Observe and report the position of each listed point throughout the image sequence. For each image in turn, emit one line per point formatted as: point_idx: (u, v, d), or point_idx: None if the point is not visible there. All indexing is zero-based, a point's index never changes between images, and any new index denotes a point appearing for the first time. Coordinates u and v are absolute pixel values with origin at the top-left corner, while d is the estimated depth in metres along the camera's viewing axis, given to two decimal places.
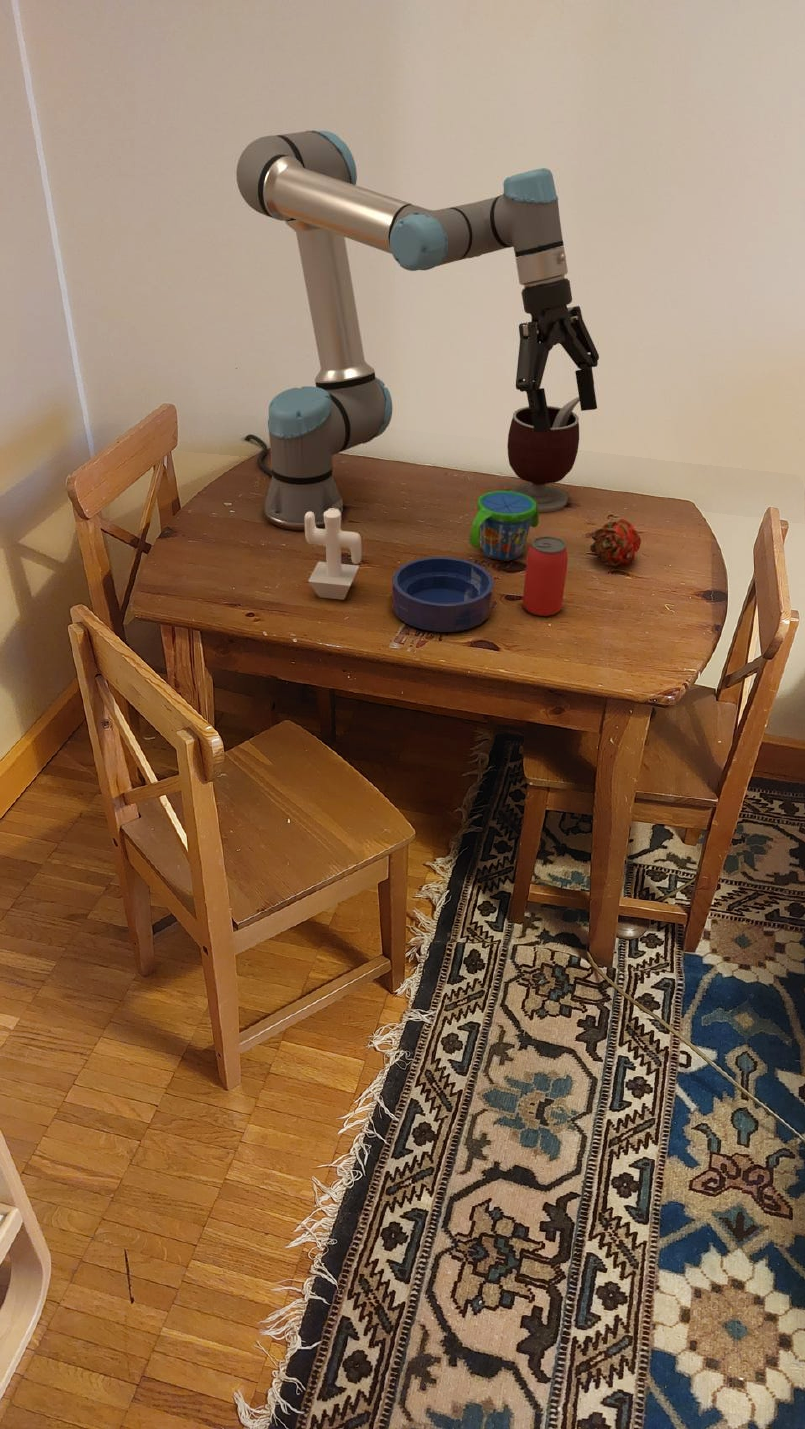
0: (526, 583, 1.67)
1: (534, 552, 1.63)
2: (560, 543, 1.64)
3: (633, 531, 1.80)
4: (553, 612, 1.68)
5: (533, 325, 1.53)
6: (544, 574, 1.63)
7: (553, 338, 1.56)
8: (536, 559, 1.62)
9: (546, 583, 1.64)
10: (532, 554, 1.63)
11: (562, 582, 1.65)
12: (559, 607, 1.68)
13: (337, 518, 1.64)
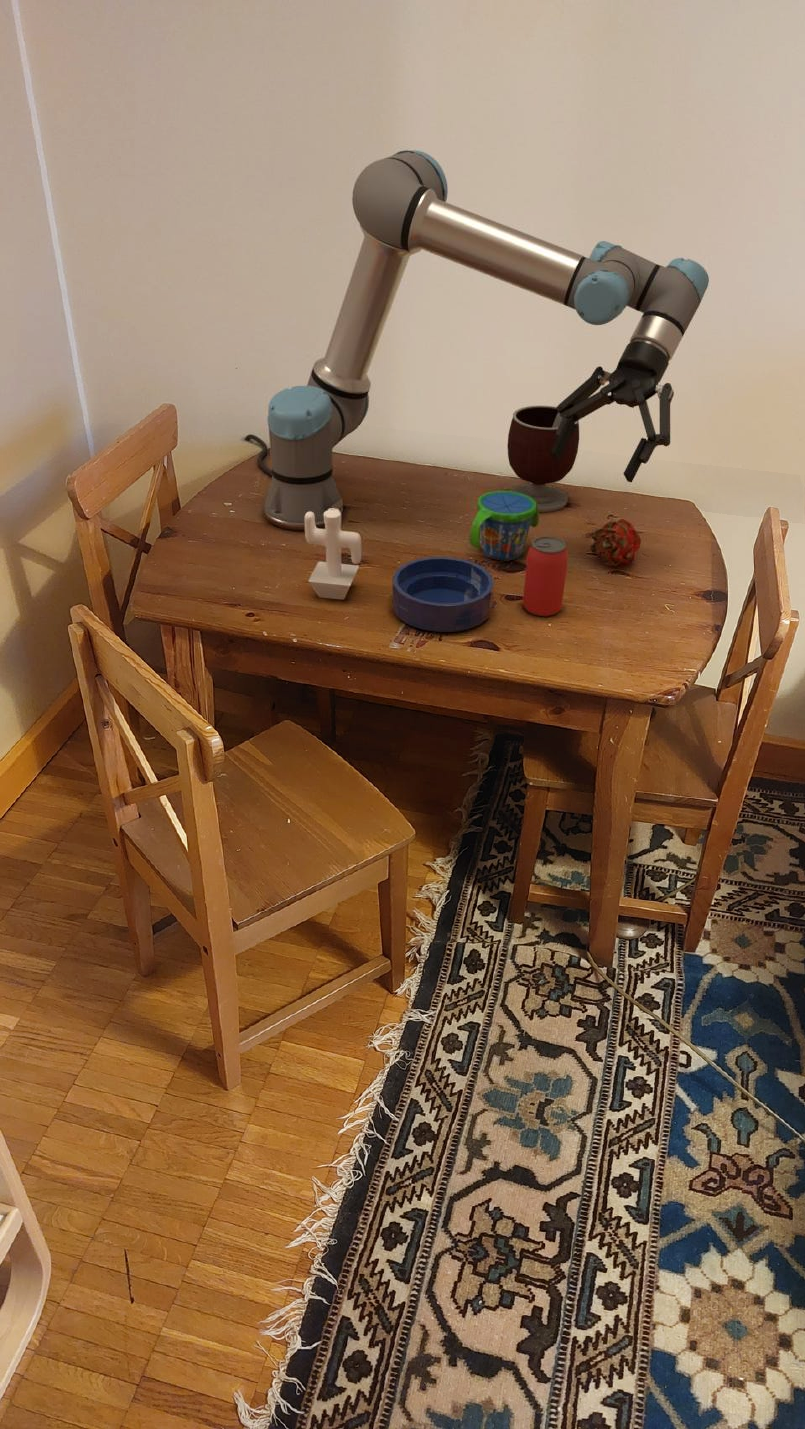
0: (526, 583, 1.67)
1: (534, 552, 1.63)
2: (560, 543, 1.64)
3: (633, 531, 1.80)
4: (553, 612, 1.68)
5: None
6: (544, 574, 1.63)
7: None
8: (536, 559, 1.62)
9: (546, 583, 1.64)
10: (532, 554, 1.63)
11: (562, 582, 1.65)
12: (559, 607, 1.68)
13: (337, 518, 1.64)
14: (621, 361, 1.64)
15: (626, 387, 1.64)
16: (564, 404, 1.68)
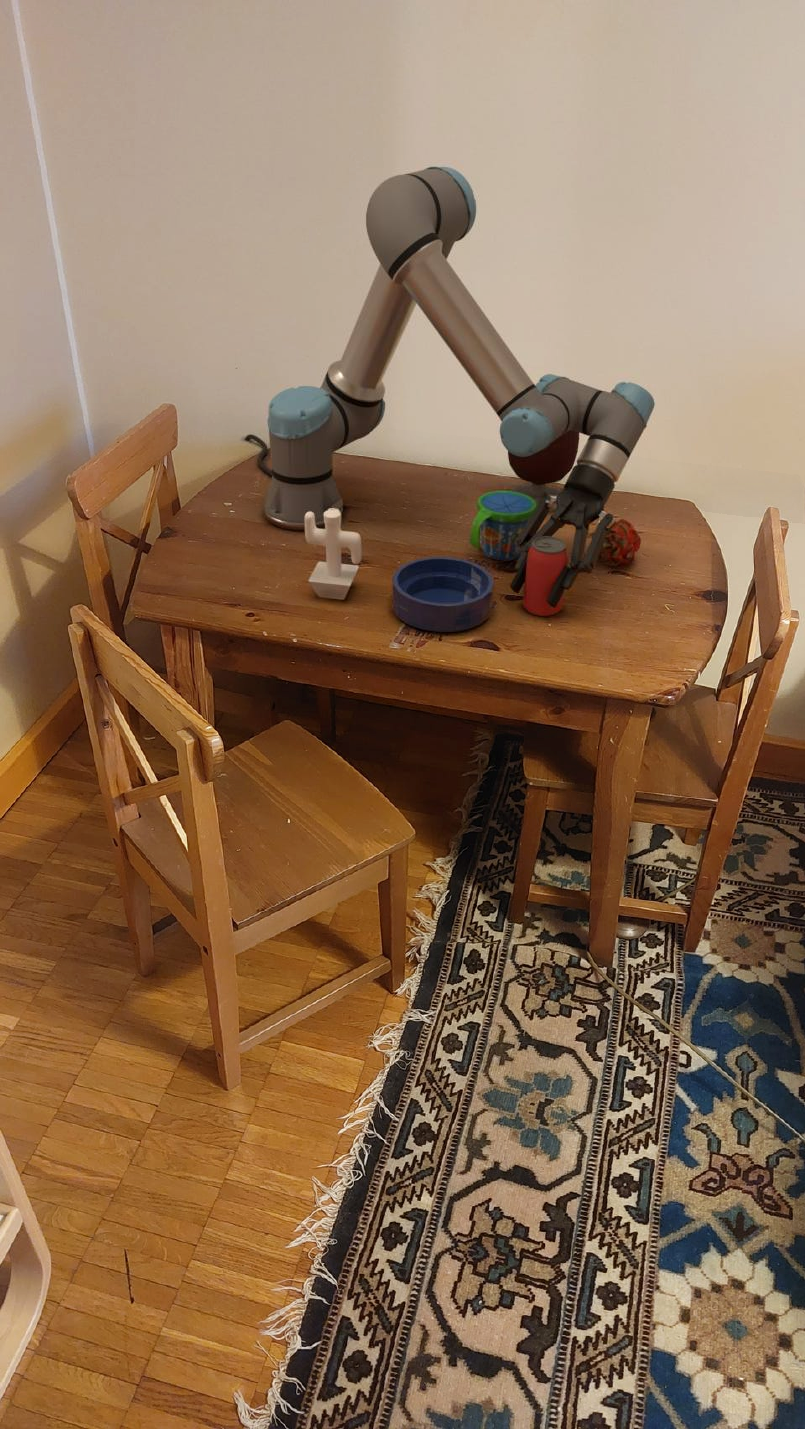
0: (526, 583, 1.67)
1: (534, 552, 1.63)
2: (560, 543, 1.64)
3: (633, 531, 1.80)
4: (553, 612, 1.68)
5: None
6: (544, 574, 1.63)
7: (584, 526, 1.67)
8: (537, 559, 1.62)
9: (546, 583, 1.64)
10: (532, 554, 1.63)
11: None
12: (559, 607, 1.68)
13: (337, 518, 1.64)
14: (568, 483, 1.66)
15: (572, 509, 1.66)
16: (522, 536, 1.68)
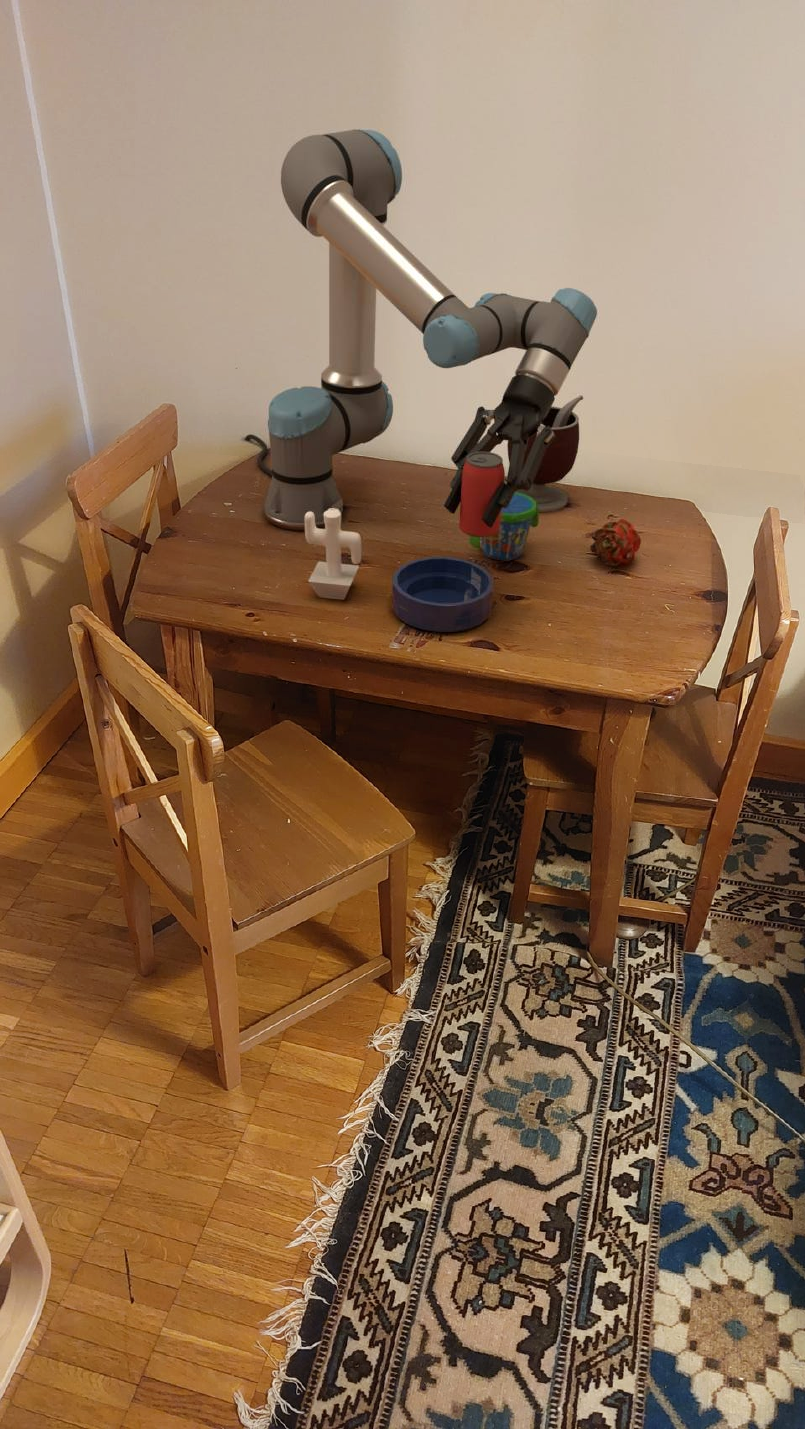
0: (461, 502, 1.58)
1: (468, 466, 1.53)
2: (496, 458, 1.55)
3: (633, 531, 1.80)
4: (490, 533, 1.59)
5: None
6: (479, 491, 1.54)
7: None
8: (471, 474, 1.53)
9: (482, 500, 1.55)
10: (467, 470, 1.54)
11: None
12: (497, 528, 1.59)
13: (337, 518, 1.64)
14: (505, 395, 1.56)
15: (510, 422, 1.56)
16: (458, 453, 1.59)
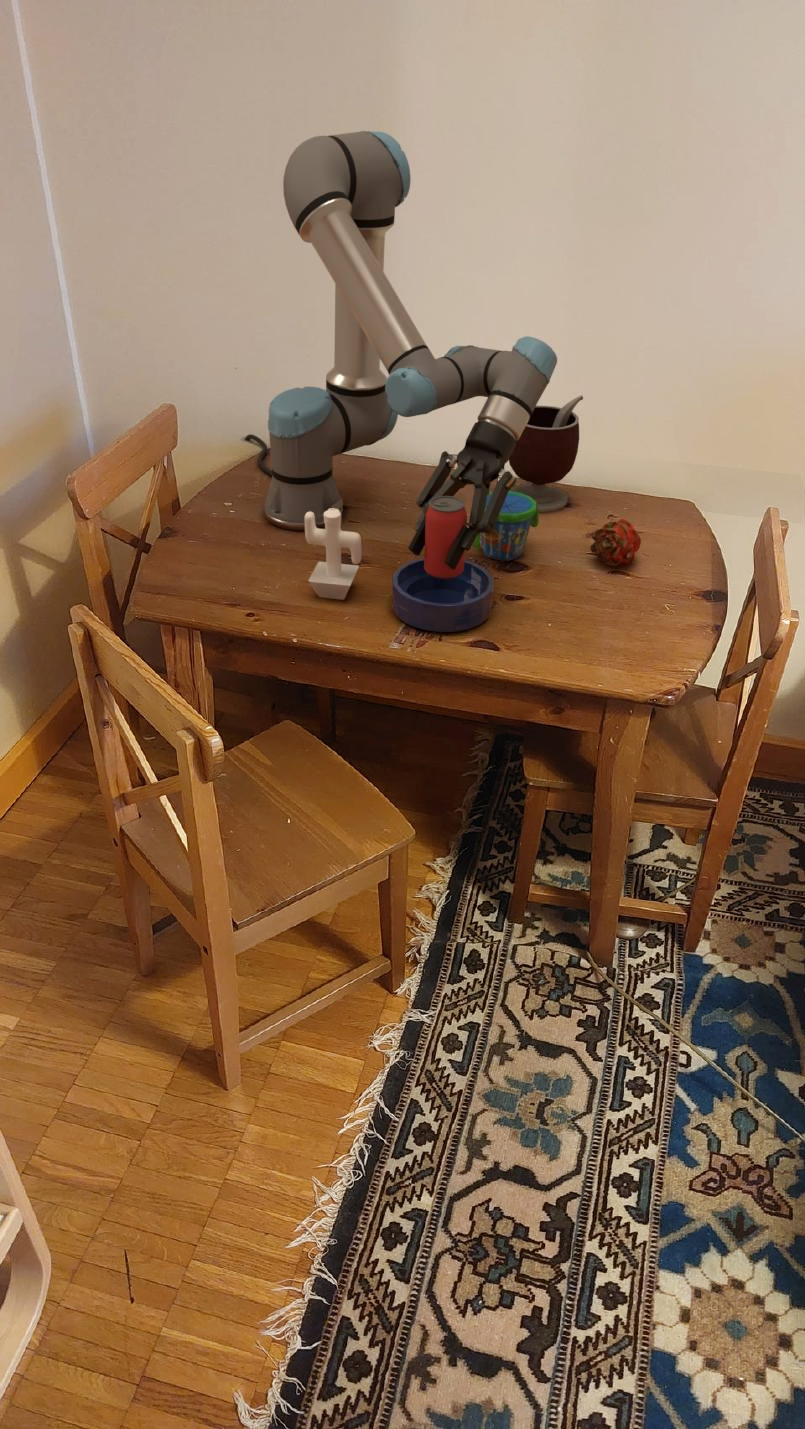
0: (425, 544, 1.62)
1: (431, 511, 1.57)
2: (459, 502, 1.59)
3: (633, 531, 1.80)
4: (454, 575, 1.62)
5: None
6: (442, 534, 1.58)
7: (485, 485, 1.62)
8: (433, 519, 1.57)
9: (444, 543, 1.59)
10: (429, 514, 1.58)
11: None
12: (460, 569, 1.63)
13: (337, 518, 1.64)
14: (467, 441, 1.60)
15: (472, 467, 1.60)
16: (422, 497, 1.63)
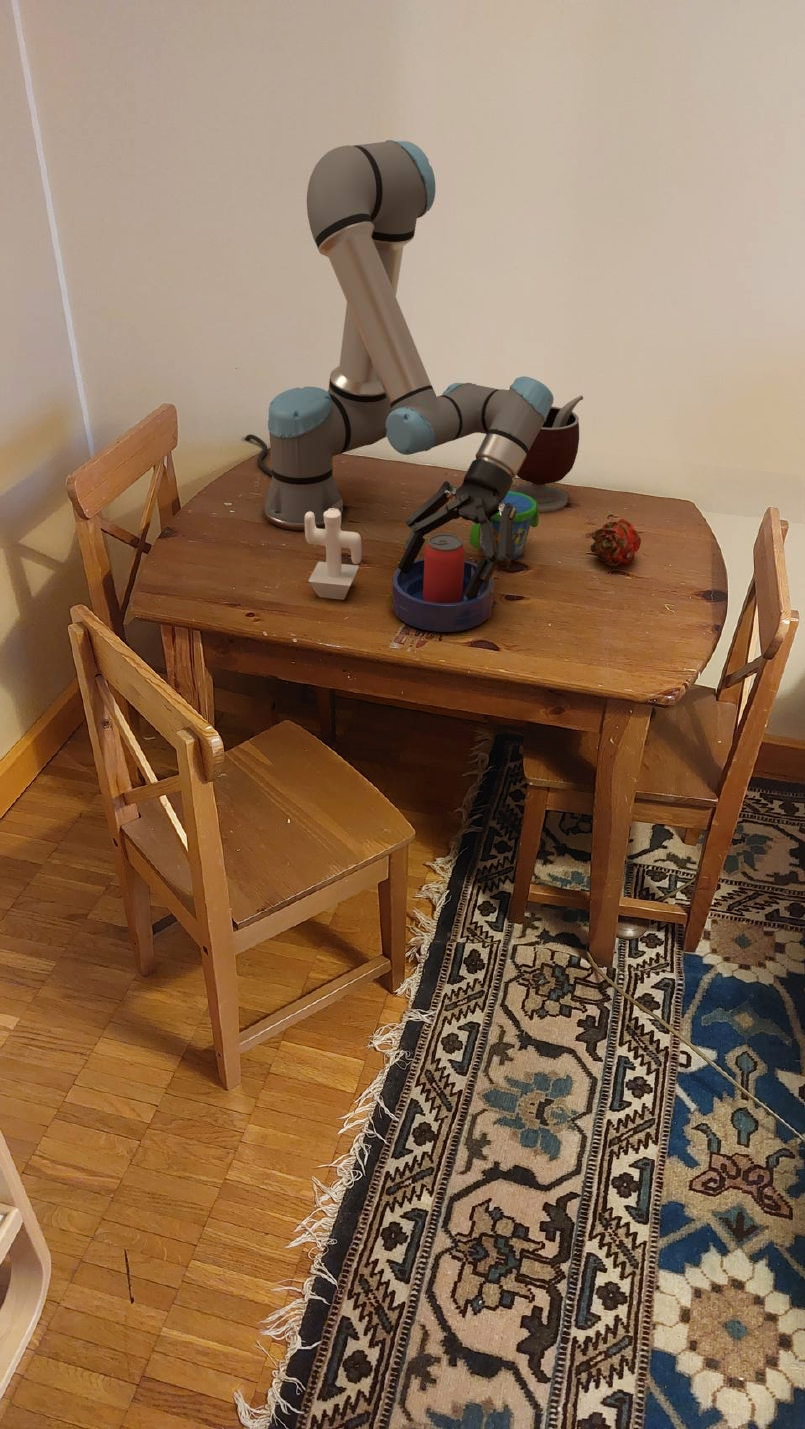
0: (424, 581, 1.66)
1: (430, 549, 1.61)
2: (457, 540, 1.63)
3: (633, 531, 1.80)
4: None
5: None
6: (440, 572, 1.62)
7: None
8: (432, 557, 1.61)
9: (443, 580, 1.63)
10: (428, 552, 1.62)
11: (460, 580, 1.64)
12: None
13: (337, 518, 1.64)
14: (465, 478, 1.64)
15: (470, 504, 1.64)
16: (412, 518, 1.68)
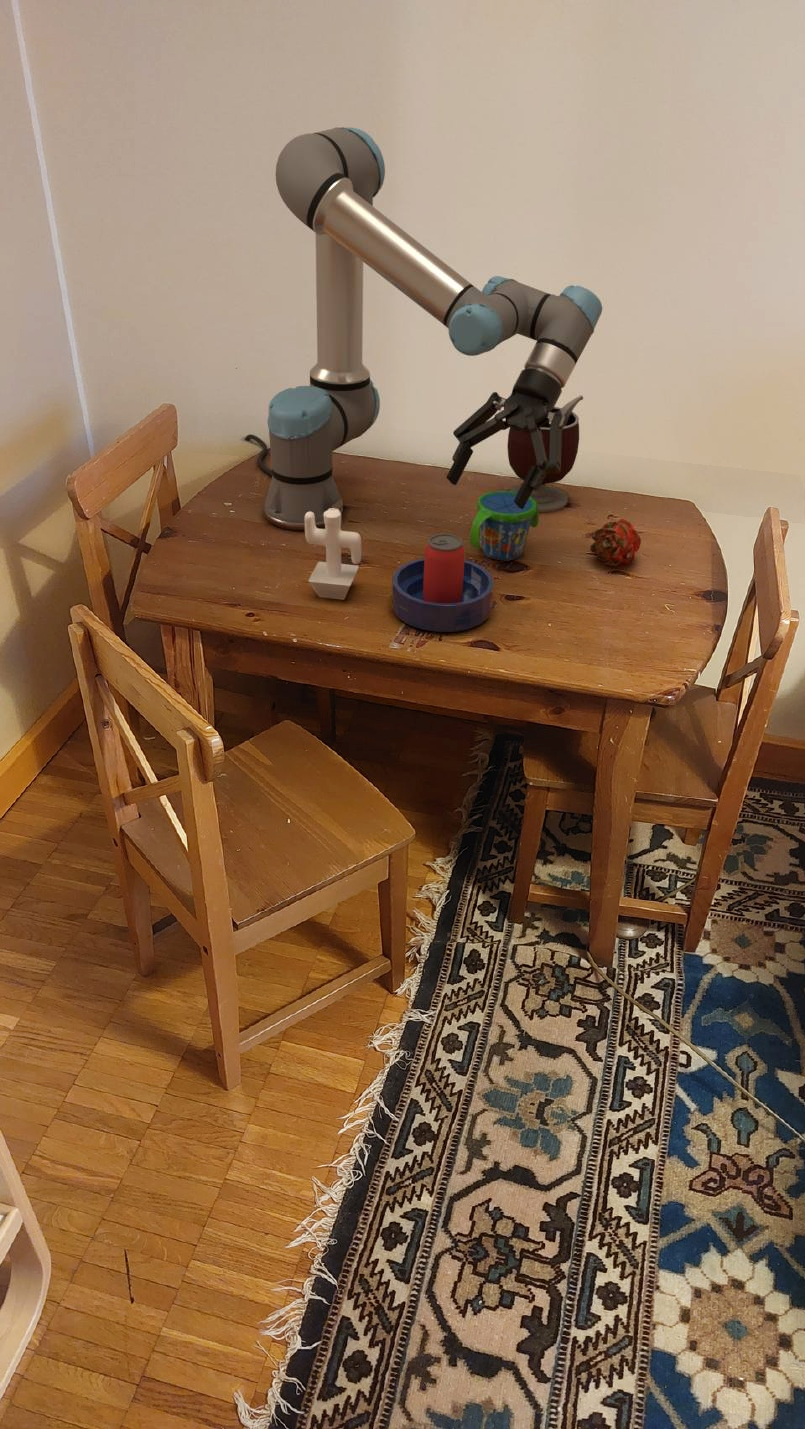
0: (424, 581, 1.66)
1: (430, 549, 1.61)
2: (457, 540, 1.63)
3: (633, 531, 1.80)
4: None
5: None
6: (440, 572, 1.62)
7: None
8: (432, 557, 1.61)
9: (443, 580, 1.63)
10: (428, 552, 1.62)
11: (460, 580, 1.64)
12: None
13: (337, 518, 1.64)
14: (515, 388, 1.65)
15: (519, 414, 1.65)
16: (460, 429, 1.70)
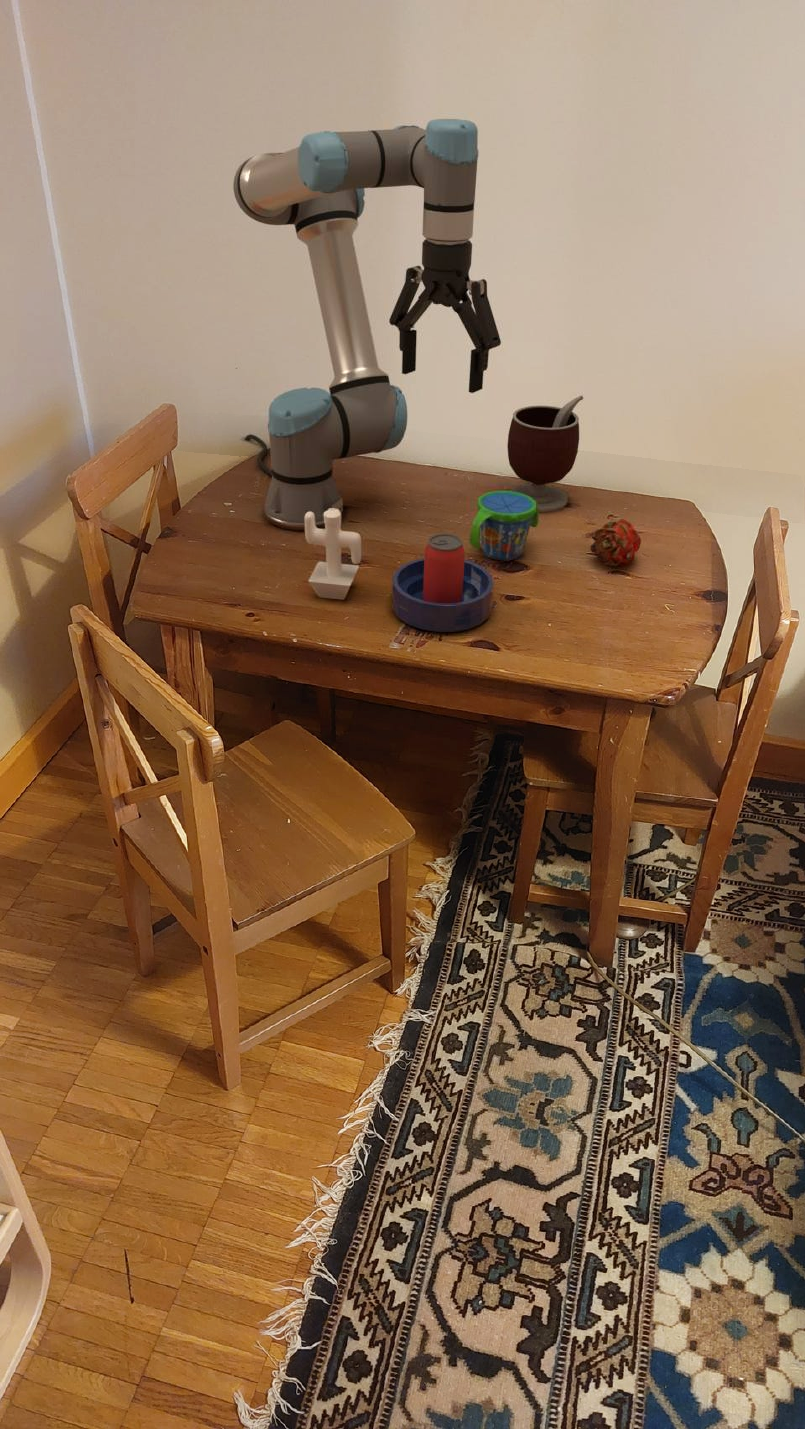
0: (424, 581, 1.66)
1: (430, 549, 1.61)
2: (457, 540, 1.63)
3: (633, 531, 1.80)
4: None
5: None
6: (440, 572, 1.62)
7: (464, 297, 1.56)
8: (432, 557, 1.61)
9: (443, 580, 1.63)
10: (428, 552, 1.62)
11: (460, 580, 1.64)
12: None
13: (337, 518, 1.64)
14: (423, 266, 1.53)
15: (439, 291, 1.55)
16: (394, 317, 1.62)
